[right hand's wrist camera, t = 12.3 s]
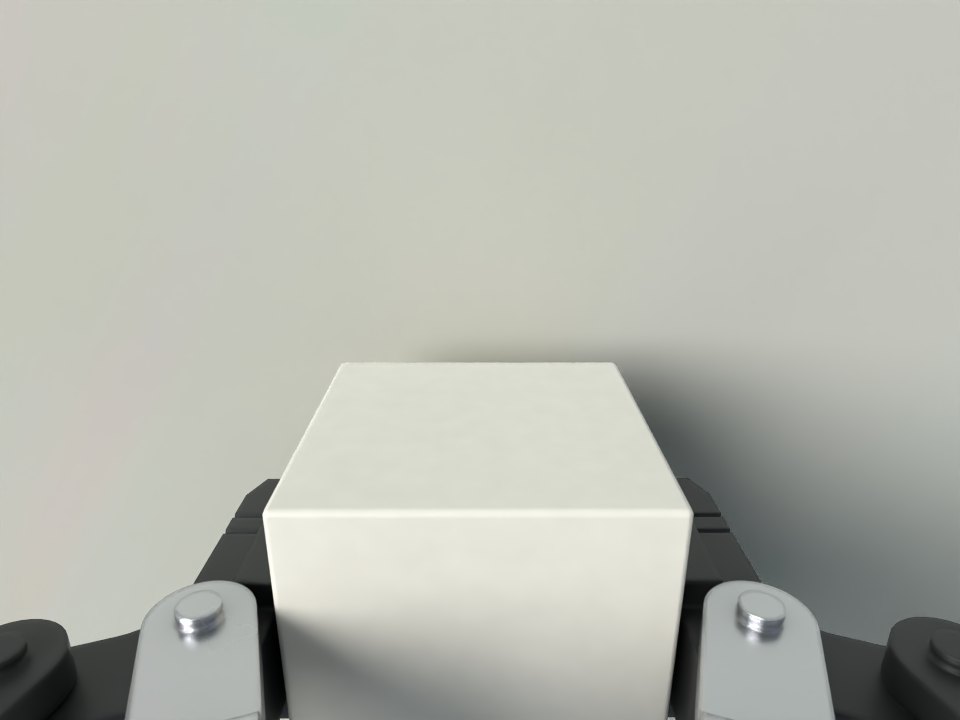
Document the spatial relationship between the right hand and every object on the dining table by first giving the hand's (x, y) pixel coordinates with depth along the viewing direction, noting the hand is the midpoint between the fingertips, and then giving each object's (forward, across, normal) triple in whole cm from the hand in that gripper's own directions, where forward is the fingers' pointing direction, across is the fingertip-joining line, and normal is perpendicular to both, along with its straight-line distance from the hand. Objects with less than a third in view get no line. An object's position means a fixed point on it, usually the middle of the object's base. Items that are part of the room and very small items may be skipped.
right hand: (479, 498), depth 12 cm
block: (0, 0, 0) cm, 0 cm away
